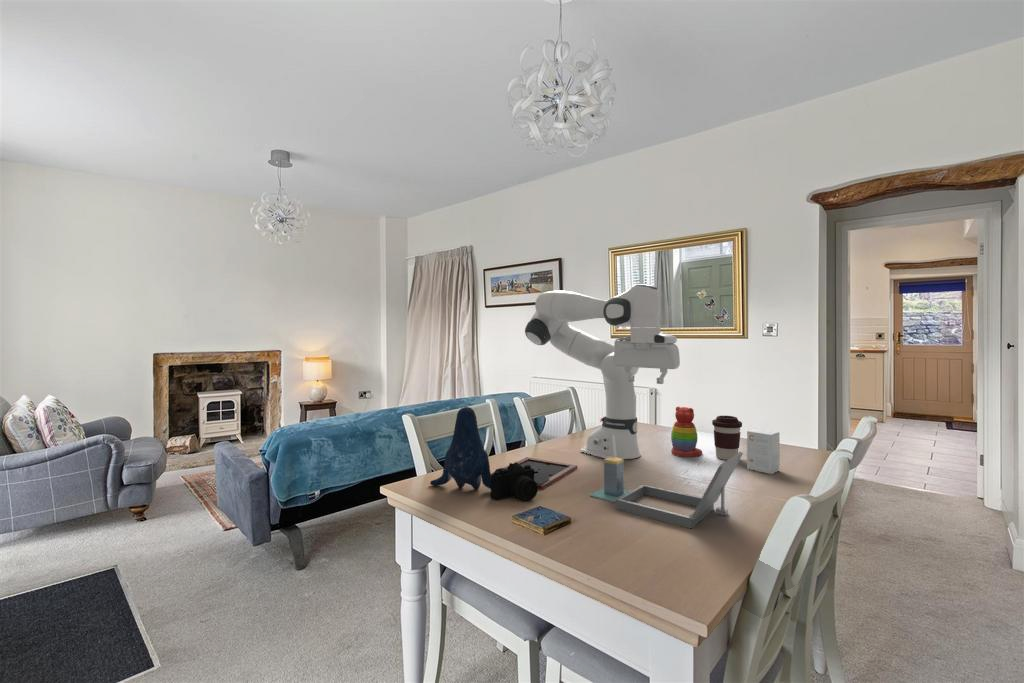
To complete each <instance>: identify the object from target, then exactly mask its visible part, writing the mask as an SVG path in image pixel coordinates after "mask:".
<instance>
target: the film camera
mask: <svg viewBox="0 0 1024 683" xmlns="http://www.w3.org/2000/svg"><path fill="white" fill-rule="evenodd" d="M516 462H517V461H515V462H513V463H511V462H510V463H508V465H507V466H508V468H507V469H503V468H504V467H501V468H497V469H495V471H493V472H494V473H493V472H492V473H493V474H492V475H491V489H490V499H491V500H493V501H500V500H505V499H509V498H518V499H520V500H523V501H532V500H534V498H535V497H536V496H537V494H538V490H539V489H538V487H537V483H536V482H535V481H534V474H535V473H538V471H534V469H532V468H531V466H530V465H525V466H524V468H523V467H522V466H521V465H518V463H516Z"/></svg>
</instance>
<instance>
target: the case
mask: <svg viewBox="0 0 1024 683" xmlns="http://www.w3.org/2000/svg"><path fill="white" fill-rule="evenodd" d="M743 455H744V453H743V452H741V451H738V453H737V454H736V455H734V456H733V457H731V458H730V459H728V460H724V462H723V463H721V464H720V465H718V467H717V469H716V471H715V473H714V475H713V476H712V479H711V480H710V482H709V484H708V486H707V488H706V490H705V492H704V494H703V495H702V496H697V495H692V494H688V493H683V492H679V491H674V490H669V489H667V488H666V489H665V488H663V487H662V488H660V487H656V486H652V485H648V484H641V485H639V486H637V487H635V488H634V489H632V490H629V491H630V492H628V493H627V494H625V495H623V496H621V497H619V498H618V499H616V503H615V510H619V511H622V512H627V513H630V514H633V515H637V516H641V517H644V516H645V518H648V517H649V518H648V519H652V518H653V519H652V520H656V519H657V521H659V520H660V522H663V521H664V523H667V522H668V524H671V523H672V524H671V525H675V526H678V525H680V526H679V527H682V526H683V527H682V528H686V527H687V529H690V528H692V527H693V526H694V527H695V526H696V525H697V524H698V522H699V521H700V520H701V519H702V520H703V519H705V518H706V517H707V516H708V515H709V514H710V513H711V512H712V511H713V509H714V510H715V514H716V513H717V514H716V515H719V514H721V515H720V516H723V515H726V516H727V515H729V508H725V505H726V504H725V502H726V501H725V499H726V498H725V494H726V493H725V490H726V489H725V488H726V485H727V483H728V482H729V480H730V478H731V476H732V474H733V473H734V471H735V470H736V467H737V466H738V464H739V461H740V460H741V458H742V456H743ZM644 494H645V495H644ZM642 495H643V496H648V495H650V496H649V497H653V496H654V497H653V498H657V497H658V499H661V498H662V500H665V499H667V500H666V501H670V500H671V501H670V502H674V501H676V502H675V503H678V502H680V503H679V504H683V503H685V504H684V505H687V504H688V506H691V505H693V506H692V507H695V506H697V507H696V508H695V509H694V511H693V512H692V513H691V514H689V515H685V514H682V513H681V514H680V513H678V512H674V511H669V510H666V509H661V508H657V507H652V506H650V505H644V504H641V503H638V502H637V503H636V502H634V500H635V501H636V500H638V499H640V498H641V497H643V496H642ZM639 497H640V498H639ZM637 498H638V499H637ZM719 498H720V506H718V507H716V508H714V506H715V503H716V502H717V501H718V499H719ZM632 501H633V502H632ZM707 514H708V515H707ZM706 515H707V516H706ZM705 516H706V517H705ZM702 520H701V521H702ZM701 521H700V522H701ZM700 522H699V523H700ZM694 527H693V528H694ZM693 528H692V529H693Z"/></svg>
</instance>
